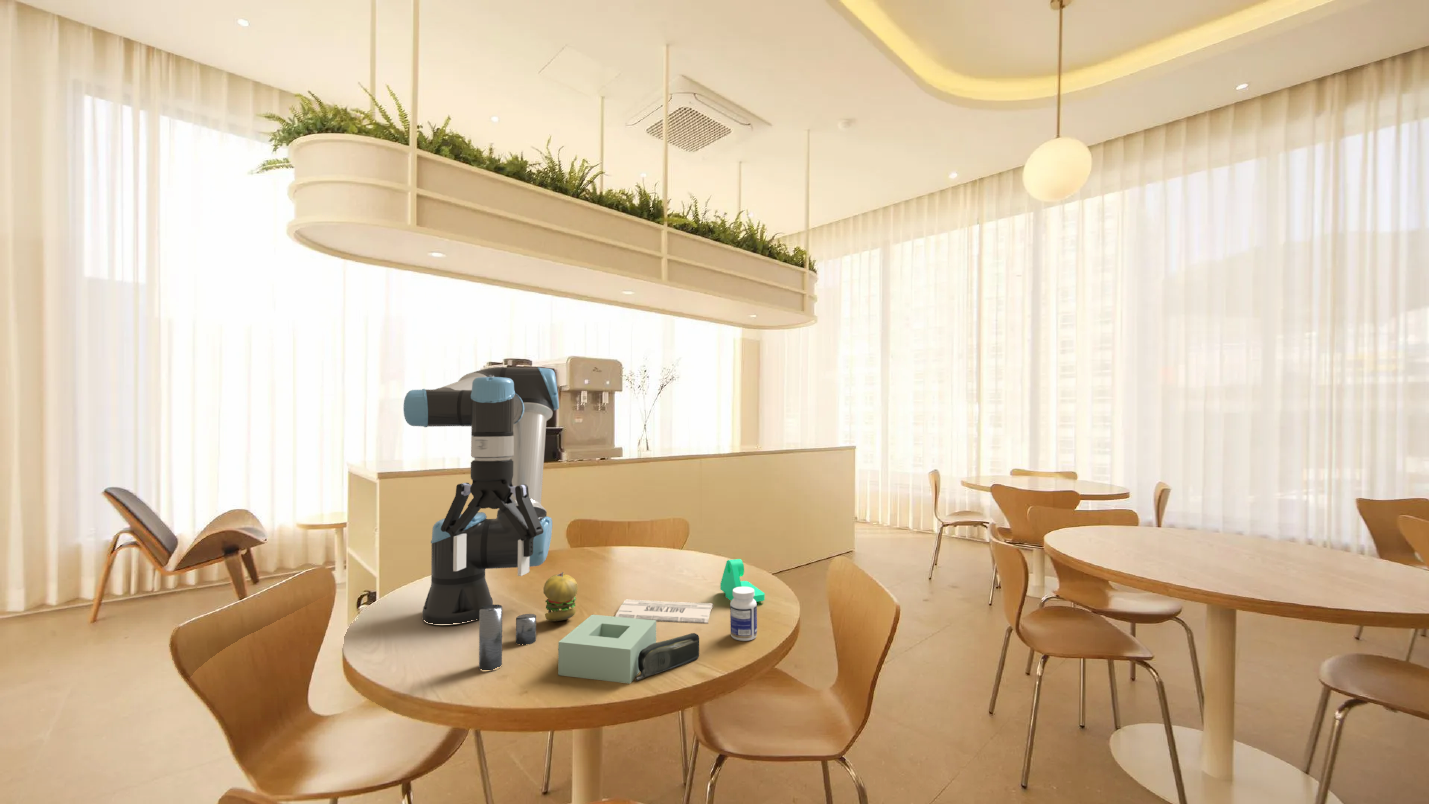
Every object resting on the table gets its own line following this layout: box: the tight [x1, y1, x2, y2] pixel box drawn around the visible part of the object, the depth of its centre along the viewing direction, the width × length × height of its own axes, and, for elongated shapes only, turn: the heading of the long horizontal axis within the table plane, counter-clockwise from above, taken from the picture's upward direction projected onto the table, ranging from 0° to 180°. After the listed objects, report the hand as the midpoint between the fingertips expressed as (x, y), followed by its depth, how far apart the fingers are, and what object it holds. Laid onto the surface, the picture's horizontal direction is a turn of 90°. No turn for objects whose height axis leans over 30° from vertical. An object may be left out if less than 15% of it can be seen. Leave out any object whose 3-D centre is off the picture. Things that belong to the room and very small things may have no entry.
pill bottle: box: [729, 587, 758, 642], centre depth 119 cm, size 6×6×10 cm
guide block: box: [557, 614, 657, 685], centre depth 106 cm, size 14×14×6 cm
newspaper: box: [614, 598, 714, 624], centre depth 133 cm, size 23×12×2 cm, turn 84°
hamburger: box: [543, 571, 579, 622], centre depth 126 cm, size 8×7×12 cm
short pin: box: [515, 613, 537, 646], centre depth 116 cm, size 4×4×5 cm
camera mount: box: [719, 558, 766, 603], centre depth 143 cm, size 12×8×10 cm, turn 21°
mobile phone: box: [634, 632, 700, 681], centre depth 104 cm, size 5×3×15 cm
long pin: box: [478, 604, 503, 670], centre depth 104 cm, size 4×4×11 cm
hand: (491, 571), depth 104 cm, fingers open, 13 cm apart
